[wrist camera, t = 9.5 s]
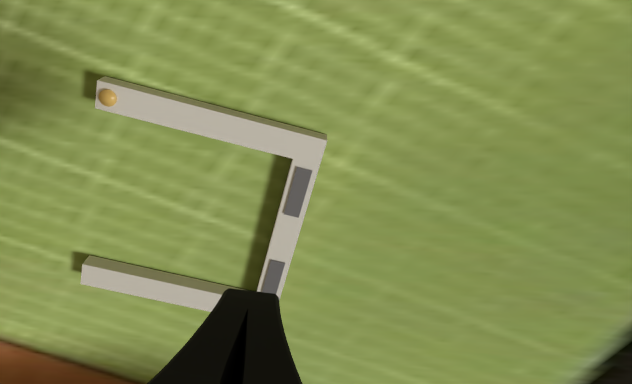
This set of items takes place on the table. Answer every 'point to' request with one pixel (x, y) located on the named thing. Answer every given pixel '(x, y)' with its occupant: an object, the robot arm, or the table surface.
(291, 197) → the dock
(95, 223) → the table surface
